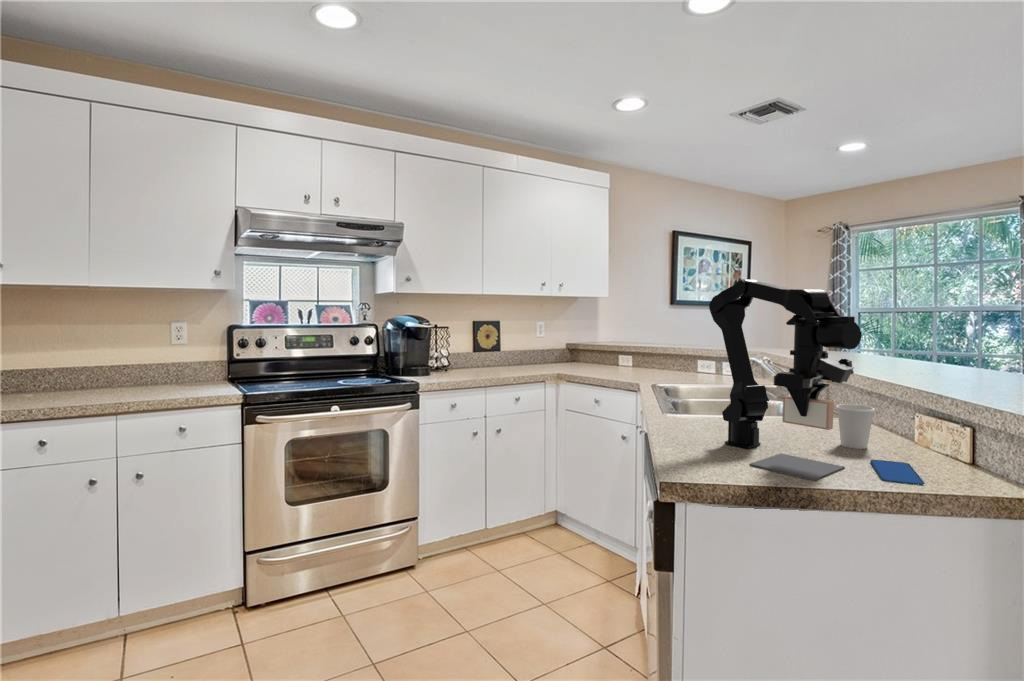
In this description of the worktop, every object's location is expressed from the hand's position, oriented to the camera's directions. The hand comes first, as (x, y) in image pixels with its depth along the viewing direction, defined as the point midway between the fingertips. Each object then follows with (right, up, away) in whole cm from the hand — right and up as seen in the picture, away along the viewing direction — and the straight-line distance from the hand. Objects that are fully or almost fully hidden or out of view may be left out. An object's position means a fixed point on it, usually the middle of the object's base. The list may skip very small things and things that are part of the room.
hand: (806, 415), depth 124 cm
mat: (-3, -11, -2) cm, 12 cm away
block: (0, -2, 0) cm, 2 cm away
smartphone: (+15, -12, -6) cm, 21 cm away
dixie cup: (+21, -10, +16) cm, 28 cm away
